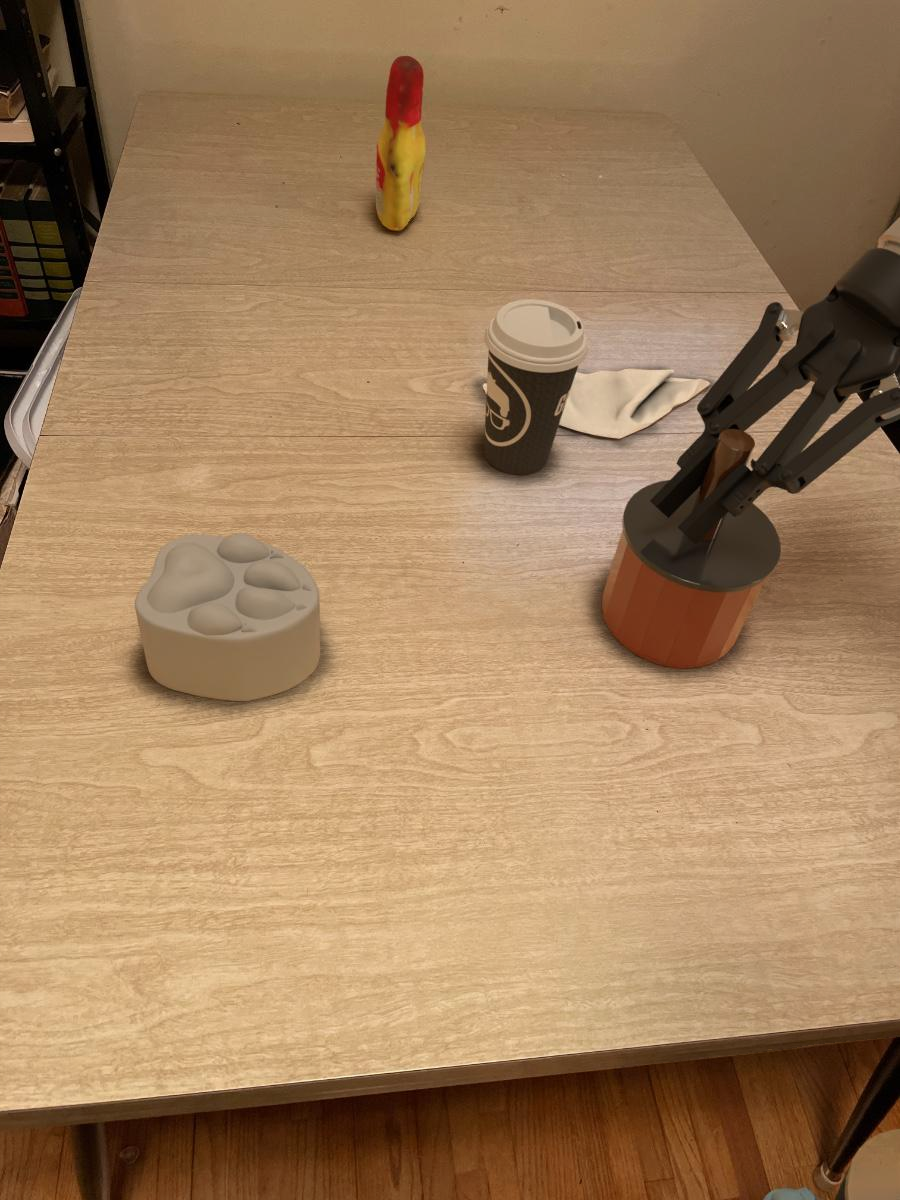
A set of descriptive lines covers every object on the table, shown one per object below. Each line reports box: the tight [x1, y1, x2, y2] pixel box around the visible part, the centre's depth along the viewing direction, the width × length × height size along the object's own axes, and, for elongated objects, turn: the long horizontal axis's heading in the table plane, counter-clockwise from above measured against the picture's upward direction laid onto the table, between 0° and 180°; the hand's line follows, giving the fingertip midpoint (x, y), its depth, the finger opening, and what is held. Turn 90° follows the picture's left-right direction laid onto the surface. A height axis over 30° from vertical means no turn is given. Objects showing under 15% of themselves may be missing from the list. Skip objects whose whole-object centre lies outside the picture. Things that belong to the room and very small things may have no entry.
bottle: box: [375, 55, 427, 232], centre depth 123 cm, size 12×6×20 cm, turn 173°
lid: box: [621, 429, 782, 593], centre depth 74 cm, size 13×13×10 cm
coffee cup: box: [483, 298, 589, 476], centre depth 92 cm, size 10×10×15 cm
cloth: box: [482, 368, 711, 440], centre depth 104 cm, size 26×14×2 cm, turn 91°
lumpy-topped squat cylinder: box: [134, 532, 321, 702], centre depth 73 cm, size 10×13×9 cm
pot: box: [601, 529, 766, 669], centre depth 80 cm, size 12×12×10 cm
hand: (673, 522), depth 73 cm, fingers closed on lid, 2 cm apart
